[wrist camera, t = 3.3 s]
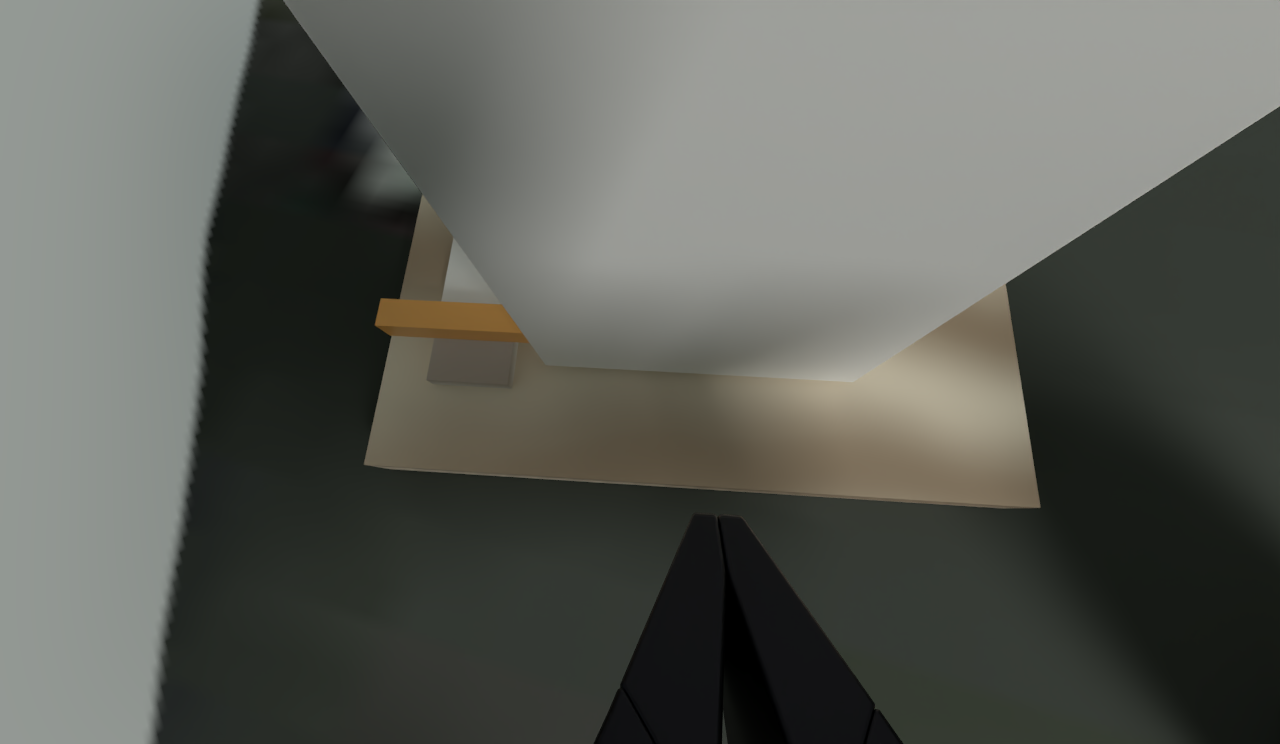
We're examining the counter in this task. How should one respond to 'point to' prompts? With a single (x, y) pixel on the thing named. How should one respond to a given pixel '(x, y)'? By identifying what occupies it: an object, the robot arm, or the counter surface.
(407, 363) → the gauge frame
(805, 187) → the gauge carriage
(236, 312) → the counter surface
